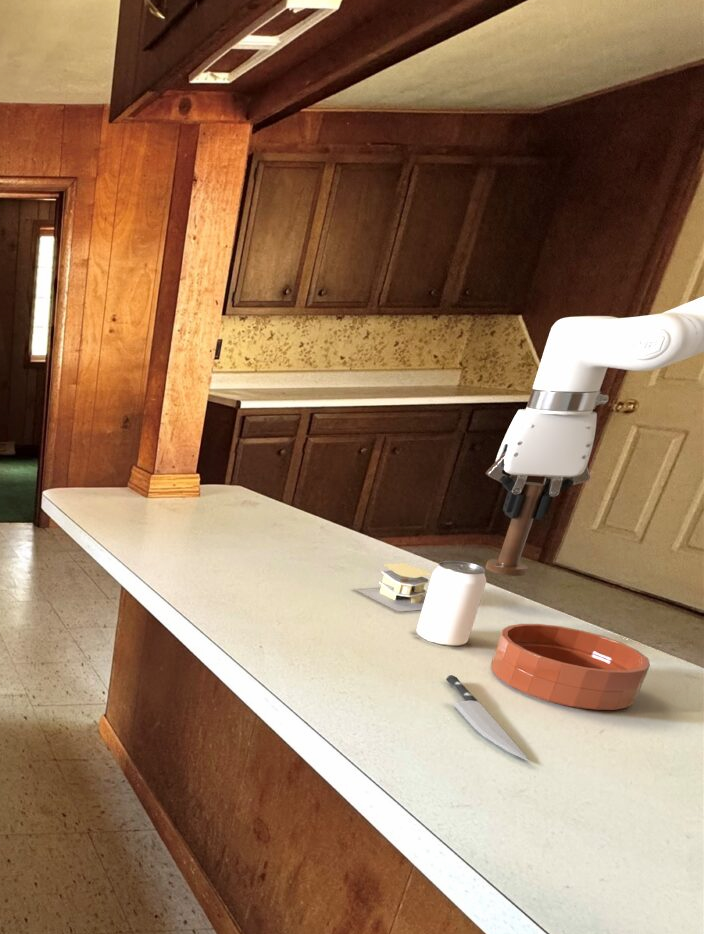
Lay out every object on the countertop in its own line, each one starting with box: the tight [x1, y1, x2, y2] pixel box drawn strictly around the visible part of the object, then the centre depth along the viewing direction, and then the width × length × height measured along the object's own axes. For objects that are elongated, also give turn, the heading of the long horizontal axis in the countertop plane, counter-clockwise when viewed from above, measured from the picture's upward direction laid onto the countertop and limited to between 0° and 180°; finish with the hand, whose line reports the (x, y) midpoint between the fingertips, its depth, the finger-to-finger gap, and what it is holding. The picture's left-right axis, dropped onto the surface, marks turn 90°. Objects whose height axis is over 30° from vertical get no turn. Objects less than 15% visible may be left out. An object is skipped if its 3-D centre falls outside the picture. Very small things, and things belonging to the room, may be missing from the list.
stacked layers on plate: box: [356, 562, 432, 613], centre depth 118 cm, size 10×9×6 cm
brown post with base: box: [484, 481, 545, 577], centre depth 109 cm, size 5×5×15 cm
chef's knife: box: [445, 674, 530, 762], centre depth 84 cm, size 19×1×3 cm
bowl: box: [490, 623, 651, 711], centre depth 89 cm, size 14×14×6 cm
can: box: [416, 560, 487, 647], centre depth 102 cm, size 6×6×12 cm
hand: (523, 516), depth 108 cm, fingers closed on brown post with base, 2 cm apart
